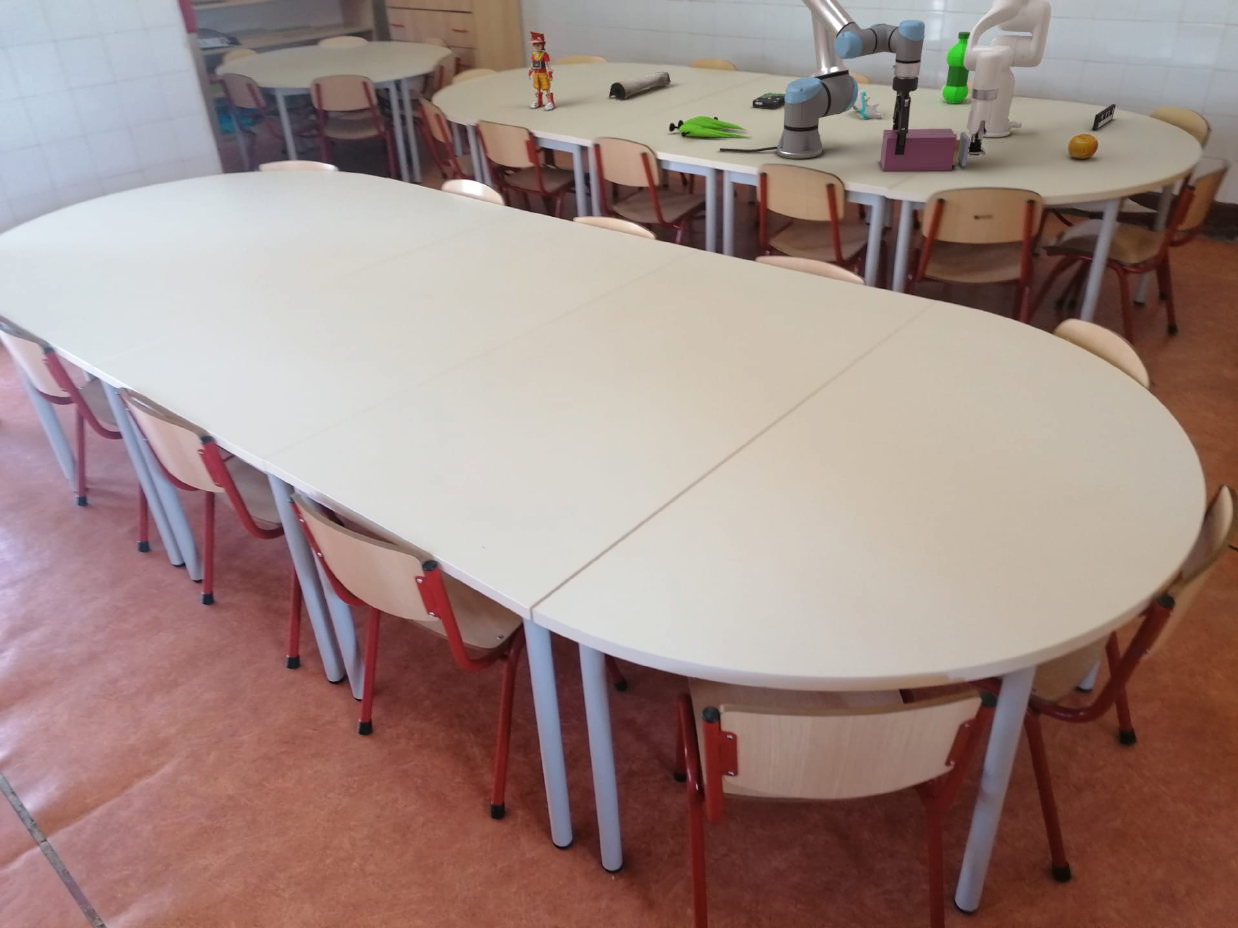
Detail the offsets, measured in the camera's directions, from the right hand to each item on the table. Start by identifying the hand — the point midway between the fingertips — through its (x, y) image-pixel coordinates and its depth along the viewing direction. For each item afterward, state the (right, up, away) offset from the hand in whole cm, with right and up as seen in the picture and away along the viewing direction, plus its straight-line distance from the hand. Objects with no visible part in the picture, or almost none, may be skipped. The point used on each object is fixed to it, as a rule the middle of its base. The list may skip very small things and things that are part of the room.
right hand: (973, 154), depth 287 cm
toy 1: (-146, +53, +96) cm, 183 cm away
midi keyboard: (+58, +22, +32) cm, 70 cm away
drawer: (-10, -2, +3) cm, 10 cm away
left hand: (-24, +2, +2) cm, 24 cm away
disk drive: (-51, +48, +80) cm, 107 cm away
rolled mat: (-104, +66, +110) cm, 165 cm away
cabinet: (-17, -2, +5) cm, 18 cm away
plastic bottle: (+19, +44, +68) cm, 83 cm away
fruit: (+35, 0, +3) cm, 36 cm away
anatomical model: (-19, +36, +59) cm, 72 cm away
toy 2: (-79, +24, +48) cm, 96 cm away
